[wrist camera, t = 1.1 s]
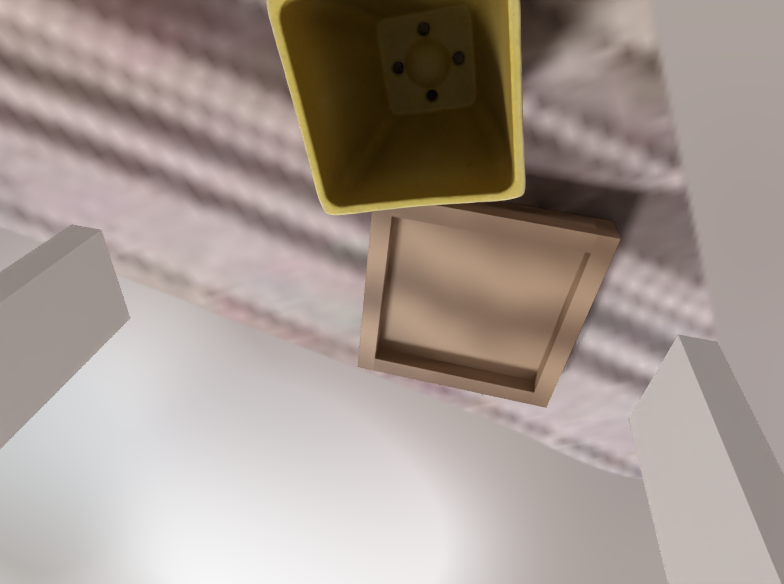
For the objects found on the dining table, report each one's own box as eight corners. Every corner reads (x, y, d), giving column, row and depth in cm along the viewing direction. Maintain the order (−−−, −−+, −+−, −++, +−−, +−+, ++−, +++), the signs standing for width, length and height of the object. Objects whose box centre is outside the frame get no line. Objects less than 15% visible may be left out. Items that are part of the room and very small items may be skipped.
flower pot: (514, -59, 22) (519, -65, 15) (520, 134, 27) (526, 200, 19) (333, -20, 24) (260, -10, 17) (367, 151, 29) (322, 217, 22)
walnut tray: (381, 179, 30) (373, 193, 28) (613, 221, 28) (620, 239, 27) (364, 347, 38) (357, 366, 36) (544, 385, 37) (546, 407, 35)
